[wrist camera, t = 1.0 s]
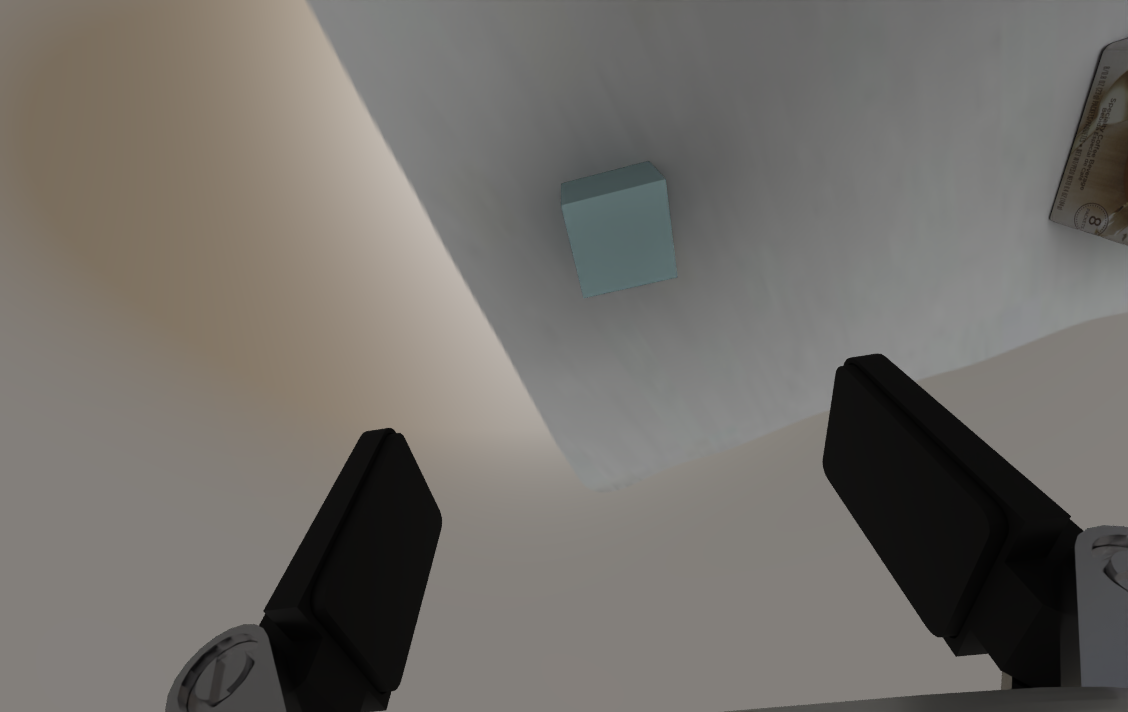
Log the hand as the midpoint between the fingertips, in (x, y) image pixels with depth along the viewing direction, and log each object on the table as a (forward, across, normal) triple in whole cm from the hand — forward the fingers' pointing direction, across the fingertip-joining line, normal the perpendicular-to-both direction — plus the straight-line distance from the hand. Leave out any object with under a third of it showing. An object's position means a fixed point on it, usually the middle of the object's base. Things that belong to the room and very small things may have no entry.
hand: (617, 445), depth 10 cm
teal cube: (+20, -2, 0) cm, 20 cm away
